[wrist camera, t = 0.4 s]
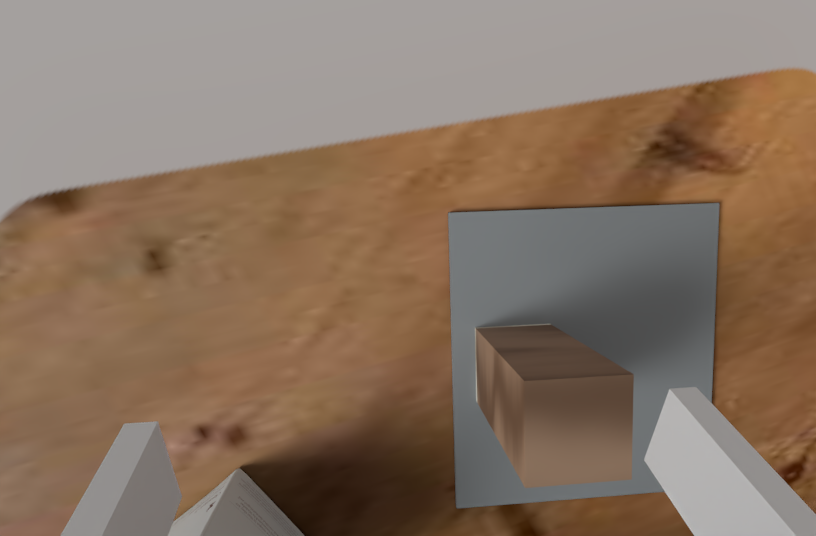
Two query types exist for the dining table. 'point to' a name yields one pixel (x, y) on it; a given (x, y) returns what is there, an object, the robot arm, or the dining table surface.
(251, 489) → the supplement box
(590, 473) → the walnut block
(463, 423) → the rubber mat
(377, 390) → the dining table surface
